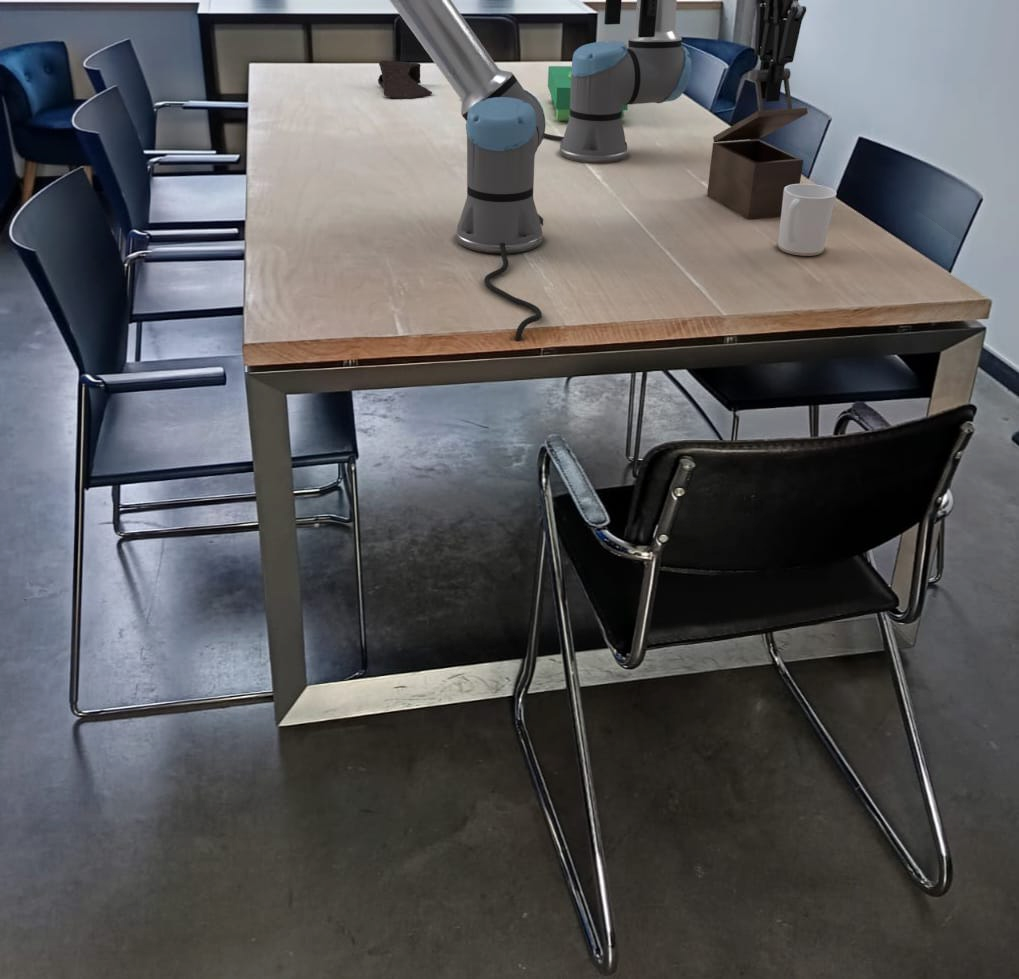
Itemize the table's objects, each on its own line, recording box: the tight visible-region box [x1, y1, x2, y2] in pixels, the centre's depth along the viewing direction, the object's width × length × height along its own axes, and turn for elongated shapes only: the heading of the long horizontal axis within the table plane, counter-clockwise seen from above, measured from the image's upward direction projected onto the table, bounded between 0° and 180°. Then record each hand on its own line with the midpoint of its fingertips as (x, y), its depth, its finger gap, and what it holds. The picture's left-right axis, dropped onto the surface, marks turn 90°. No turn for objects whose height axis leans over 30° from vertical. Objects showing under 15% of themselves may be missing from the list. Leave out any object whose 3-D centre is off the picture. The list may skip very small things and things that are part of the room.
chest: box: [706, 139, 804, 220], centre depth 215 cm, size 16×10×10 cm, turn 20°
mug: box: [777, 183, 837, 257], centre depth 191 cm, size 11×9×10 cm
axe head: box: [377, 59, 433, 99], centre depth 299 cm, size 18×8×15 cm
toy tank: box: [547, 65, 629, 122], centre depth 283 cm, size 18×12×35 cm
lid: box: [712, 67, 809, 143], centre depth 210 cm, size 17×10×9 cm, turn 19°
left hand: (628, 30), depth 187 cm, fingers open, 13 cm apart
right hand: (767, 99), depth 206 cm, fingers closed on lid, 2 cm apart
